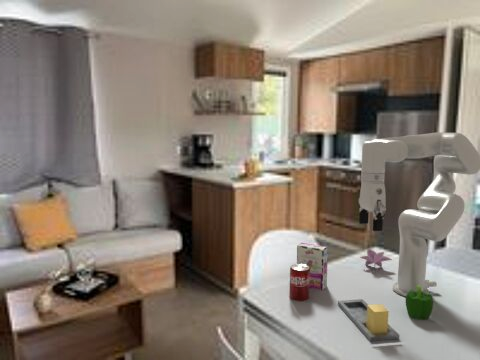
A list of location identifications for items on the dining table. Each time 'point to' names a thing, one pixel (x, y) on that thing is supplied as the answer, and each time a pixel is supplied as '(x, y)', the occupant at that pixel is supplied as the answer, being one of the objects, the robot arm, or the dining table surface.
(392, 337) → the gray recessed board
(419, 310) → the bell pepper
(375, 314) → the yellow block
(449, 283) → the dining table surface
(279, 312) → the dining table surface
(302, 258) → the candy bar box
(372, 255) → the lily
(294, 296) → the soda can
